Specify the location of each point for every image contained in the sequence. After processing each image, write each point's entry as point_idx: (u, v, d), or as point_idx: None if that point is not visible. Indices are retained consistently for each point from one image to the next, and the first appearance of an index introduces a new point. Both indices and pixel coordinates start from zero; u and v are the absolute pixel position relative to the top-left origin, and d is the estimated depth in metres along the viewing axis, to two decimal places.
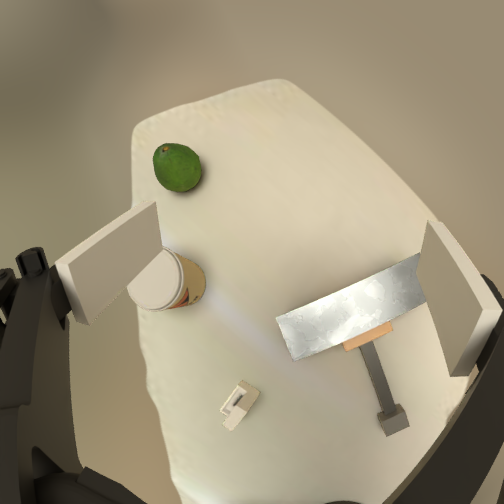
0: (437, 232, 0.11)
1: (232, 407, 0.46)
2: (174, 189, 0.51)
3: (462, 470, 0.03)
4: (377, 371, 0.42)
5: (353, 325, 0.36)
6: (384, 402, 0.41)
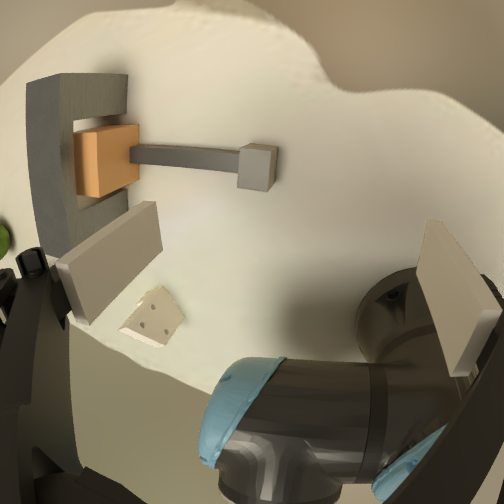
0: (437, 232, 0.11)
1: None
2: (0, 254, 0.45)
3: (462, 470, 0.03)
4: (175, 156, 0.32)
5: (54, 187, 0.26)
6: (222, 166, 0.32)
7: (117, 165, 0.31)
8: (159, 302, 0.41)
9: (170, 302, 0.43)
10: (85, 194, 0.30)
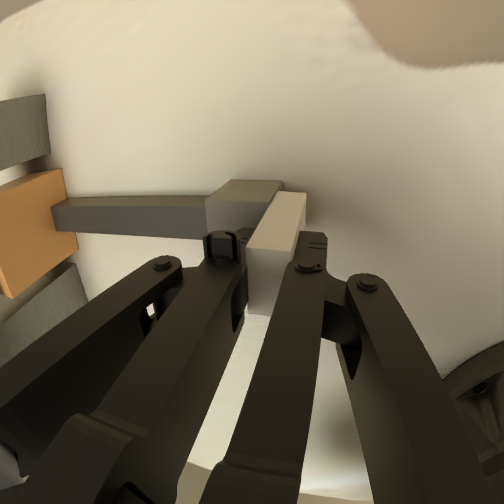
0: (290, 199, 0.14)
1: None
2: None
3: (281, 407, 0.05)
4: (110, 218, 0.19)
5: None
6: (185, 230, 0.18)
7: (32, 241, 0.18)
8: None
9: None
10: None
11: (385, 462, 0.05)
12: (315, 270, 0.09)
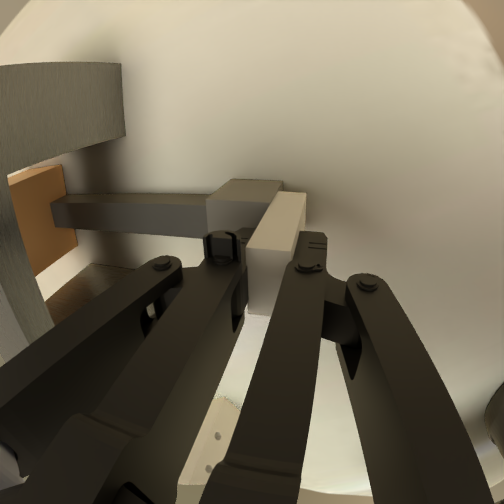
0: (290, 199, 0.14)
1: None
2: None
3: (281, 407, 0.05)
4: (110, 215, 0.19)
5: (6, 321, 0.11)
6: (185, 228, 0.18)
7: (31, 237, 0.18)
8: (224, 425, 0.25)
9: (238, 417, 0.27)
10: None
11: (385, 462, 0.05)
12: (315, 270, 0.09)
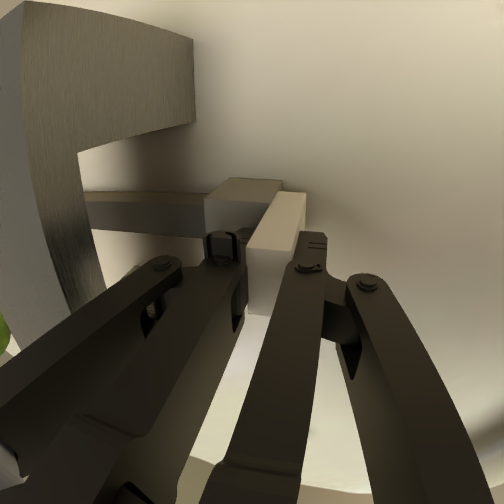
0: (290, 199, 0.14)
1: None
2: (0, 349, 0.30)
3: (281, 407, 0.05)
4: (106, 214, 0.18)
5: None
6: (182, 227, 0.17)
7: None
8: None
9: None
10: None
11: (385, 462, 0.05)
12: (315, 270, 0.09)
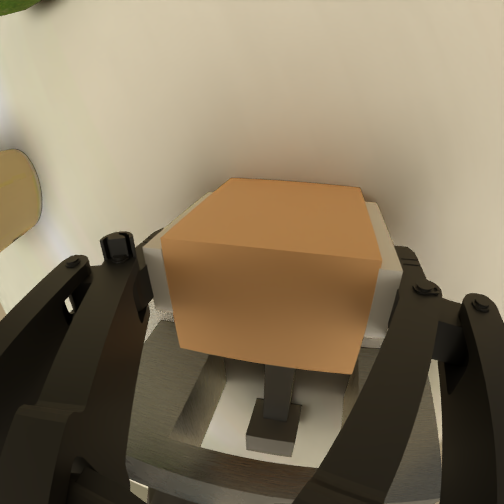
0: None
1: None
2: None
3: (382, 431, 0.04)
4: None
5: None
6: (270, 405, 0.22)
7: None
8: None
9: None
10: (176, 308, 0.11)
11: (464, 476, 0.04)
12: (431, 293, 0.08)
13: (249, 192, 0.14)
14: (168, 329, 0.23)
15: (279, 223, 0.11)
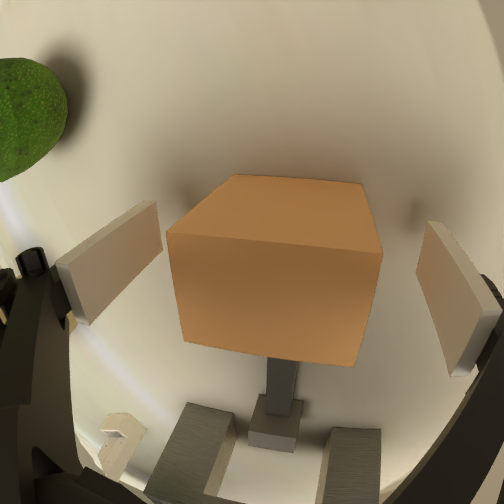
0: (437, 232, 0.11)
1: None
2: None
3: (462, 470, 0.03)
4: None
5: None
6: (272, 400, 0.23)
7: None
8: None
9: None
10: (180, 301, 0.12)
11: None
12: None
13: (252, 188, 0.15)
14: (193, 411, 0.28)
15: (282, 218, 0.11)
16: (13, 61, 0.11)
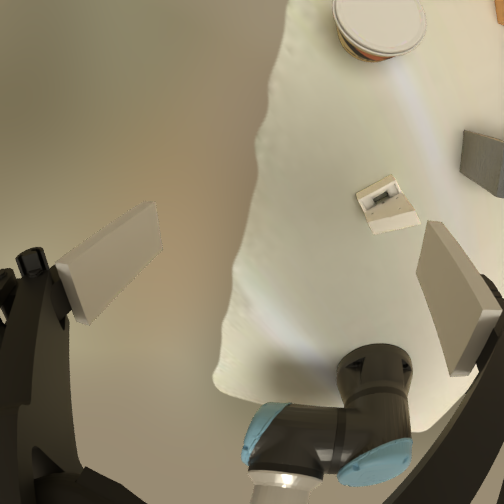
0: (437, 232, 0.11)
1: (369, 201, 0.39)
2: None
3: (462, 470, 0.03)
4: None
5: None
6: None
7: None
8: None
9: None
10: None
11: None
12: None
13: None
14: (472, 132, 0.31)
15: None
16: None
